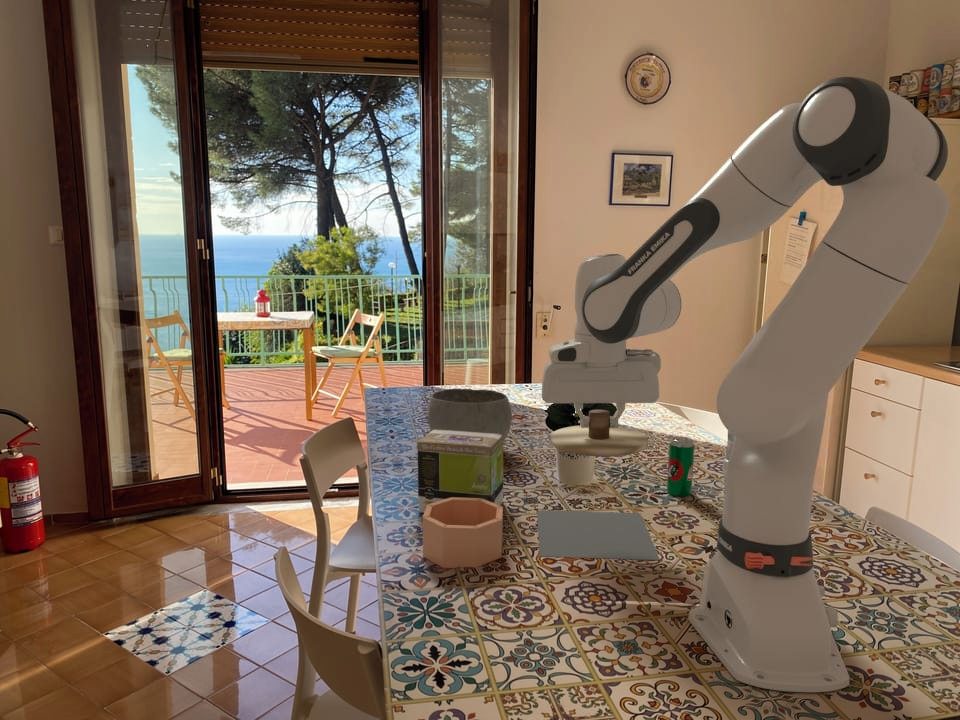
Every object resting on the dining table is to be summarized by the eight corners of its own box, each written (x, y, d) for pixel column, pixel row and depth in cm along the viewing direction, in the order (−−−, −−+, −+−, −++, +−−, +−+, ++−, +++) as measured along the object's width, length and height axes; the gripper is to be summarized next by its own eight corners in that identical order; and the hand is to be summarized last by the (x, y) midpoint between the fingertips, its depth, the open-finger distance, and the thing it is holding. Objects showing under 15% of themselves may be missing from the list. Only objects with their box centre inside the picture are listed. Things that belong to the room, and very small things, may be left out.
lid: (657, 456, 116) (658, 424, 115) (553, 456, 117) (553, 424, 116) (639, 429, 133) (639, 401, 132) (548, 430, 133) (548, 401, 133)
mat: (659, 562, 118) (660, 560, 117) (539, 558, 119) (539, 556, 119) (640, 515, 137) (640, 513, 137) (537, 512, 138) (537, 510, 138)
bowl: (524, 460, 170) (525, 399, 167) (443, 470, 162) (443, 406, 160) (491, 437, 189) (492, 382, 186) (418, 445, 181) (417, 388, 179)
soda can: (692, 499, 145) (696, 443, 143) (667, 497, 146) (670, 442, 144) (690, 491, 150) (693, 436, 148) (665, 489, 151) (668, 435, 149)
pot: (500, 569, 114) (501, 529, 113) (419, 567, 115) (419, 526, 114) (502, 535, 127) (503, 498, 126) (430, 533, 128) (429, 496, 127)
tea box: (503, 503, 143) (505, 432, 140) (491, 522, 133) (492, 447, 131) (433, 495, 147) (433, 426, 144) (416, 513, 137) (416, 440, 135)
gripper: (657, 346, 124) (655, 422, 127) (541, 347, 126) (541, 422, 128) (664, 351, 118) (662, 431, 120) (542, 352, 119) (542, 431, 122)
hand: (599, 427), depth 124 cm, fingers closed on lid, 4 cm apart
